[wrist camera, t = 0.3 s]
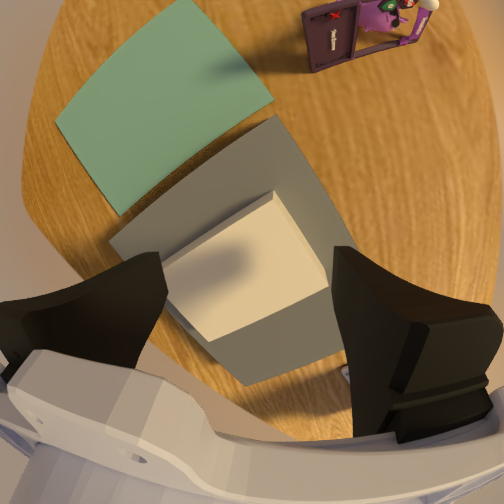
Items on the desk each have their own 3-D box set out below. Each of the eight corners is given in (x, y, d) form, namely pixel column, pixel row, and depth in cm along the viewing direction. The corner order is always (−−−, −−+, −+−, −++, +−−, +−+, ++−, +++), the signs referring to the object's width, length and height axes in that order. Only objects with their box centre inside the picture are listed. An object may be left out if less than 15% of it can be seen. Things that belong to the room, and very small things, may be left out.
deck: (380, 295, 23) (393, 325, 19) (249, 355, 27) (245, 386, 24) (276, 115, 18) (276, 114, 14) (132, 221, 22) (108, 241, 18)
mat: (274, 100, 17) (274, 99, 17) (121, 215, 22) (120, 216, 22) (187, -5, 14) (185, -6, 13) (57, 121, 18) (54, 121, 18)
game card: (312, 26, 10) (450, -1, 7) (263, -28, 9) (394, -53, 7) (317, 82, 16) (422, 49, 13) (283, 31, 16) (383, 2, 13)
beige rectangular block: (324, 268, 18) (328, 286, 16) (214, 323, 21) (208, 342, 19) (273, 189, 16) (272, 199, 14) (161, 263, 19) (149, 278, 17)
